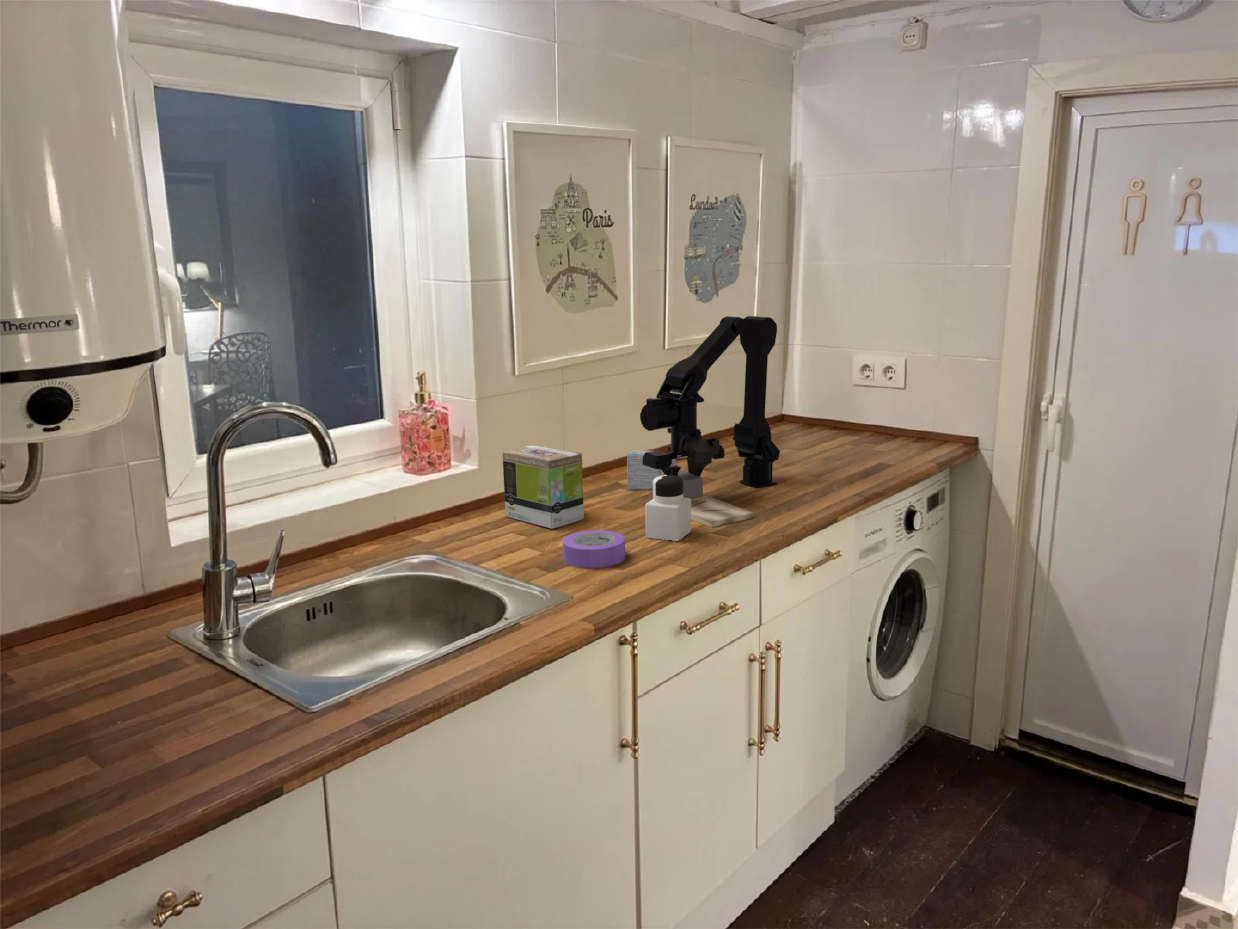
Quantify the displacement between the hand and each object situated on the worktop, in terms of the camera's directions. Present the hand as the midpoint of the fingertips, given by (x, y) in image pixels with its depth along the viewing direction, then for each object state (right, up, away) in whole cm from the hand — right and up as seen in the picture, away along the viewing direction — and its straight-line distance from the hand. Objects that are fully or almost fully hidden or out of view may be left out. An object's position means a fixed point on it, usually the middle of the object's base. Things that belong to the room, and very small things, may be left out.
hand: (684, 492), depth 210 cm
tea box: (-31, -5, -8) cm, 32 cm away
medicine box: (-8, +1, +14) cm, 16 cm away
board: (+3, -4, -5) cm, 7 cm away
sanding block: (0, -1, 0) cm, 1 cm away
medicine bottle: (-5, -8, -21) cm, 23 cm away
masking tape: (-19, -12, -34) cm, 40 cm away
